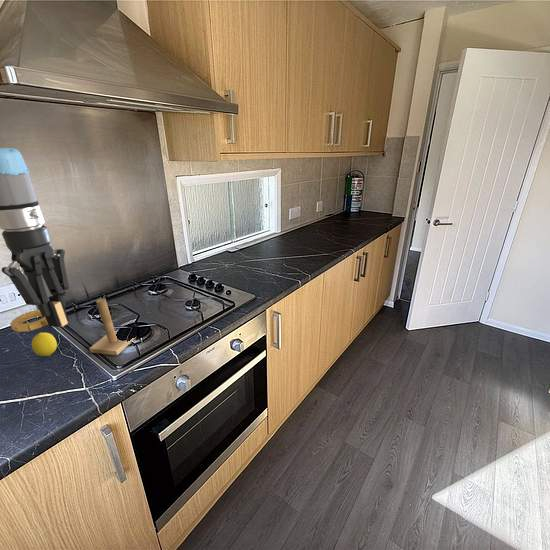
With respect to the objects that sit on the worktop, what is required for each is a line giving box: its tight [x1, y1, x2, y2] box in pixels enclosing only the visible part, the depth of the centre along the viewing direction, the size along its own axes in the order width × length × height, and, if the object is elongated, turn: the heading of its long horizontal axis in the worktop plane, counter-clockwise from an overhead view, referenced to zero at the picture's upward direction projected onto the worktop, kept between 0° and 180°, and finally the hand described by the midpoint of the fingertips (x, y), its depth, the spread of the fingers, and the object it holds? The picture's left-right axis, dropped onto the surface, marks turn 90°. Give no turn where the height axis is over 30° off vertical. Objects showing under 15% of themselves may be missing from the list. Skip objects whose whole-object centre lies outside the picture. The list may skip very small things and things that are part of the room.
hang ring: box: [9, 301, 69, 333], centre depth 71 cm, size 13×8×6 cm, turn 79°
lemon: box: [31, 332, 58, 357], centre depth 84 cm, size 6×6×8 cm
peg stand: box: [89, 297, 137, 356], centre depth 87 cm, size 9×9×16 cm
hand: (59, 322), depth 71 cm, fingers closed on hang ring, 2 cm apart
